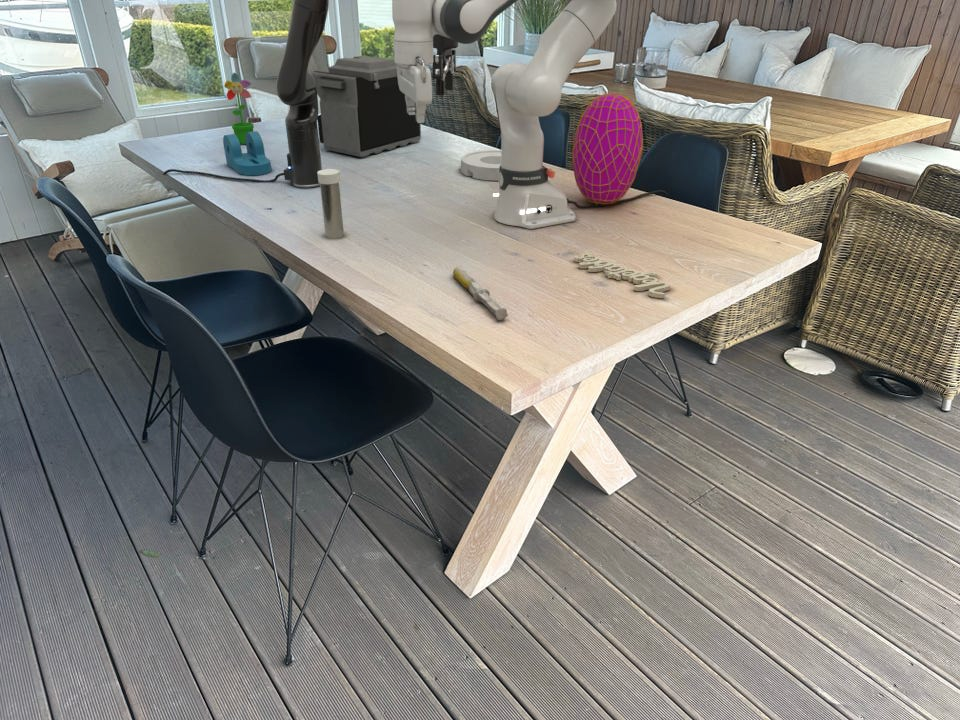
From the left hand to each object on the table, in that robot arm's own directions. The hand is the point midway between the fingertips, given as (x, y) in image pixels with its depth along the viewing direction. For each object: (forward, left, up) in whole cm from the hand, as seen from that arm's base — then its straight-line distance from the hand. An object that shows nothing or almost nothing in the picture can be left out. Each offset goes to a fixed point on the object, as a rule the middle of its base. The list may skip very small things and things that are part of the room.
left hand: (444, 92), depth 191 cm
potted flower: (-92, +43, -29) cm, 106 cm away
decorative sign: (+56, -46, -29) cm, 78 cm away
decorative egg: (+46, +6, -29) cm, 55 cm away
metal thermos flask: (-18, -40, -29) cm, 53 cm away
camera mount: (-71, +11, -29) cm, 78 cm away
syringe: (+27, -66, -29) cm, 77 cm away
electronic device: (-45, +52, -29) cm, 74 cm away
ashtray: (+8, +31, -29) cm, 43 cm away
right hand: (+3, -34, 0) cm, 35 cm away
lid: (-18, -40, -13) cm, 46 cm away
